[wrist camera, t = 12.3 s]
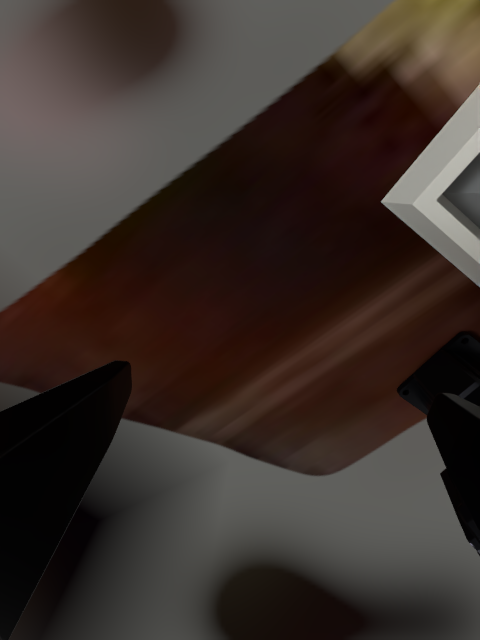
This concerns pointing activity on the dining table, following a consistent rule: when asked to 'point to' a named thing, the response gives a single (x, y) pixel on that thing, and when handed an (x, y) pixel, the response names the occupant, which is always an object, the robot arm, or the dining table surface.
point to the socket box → (446, 191)
